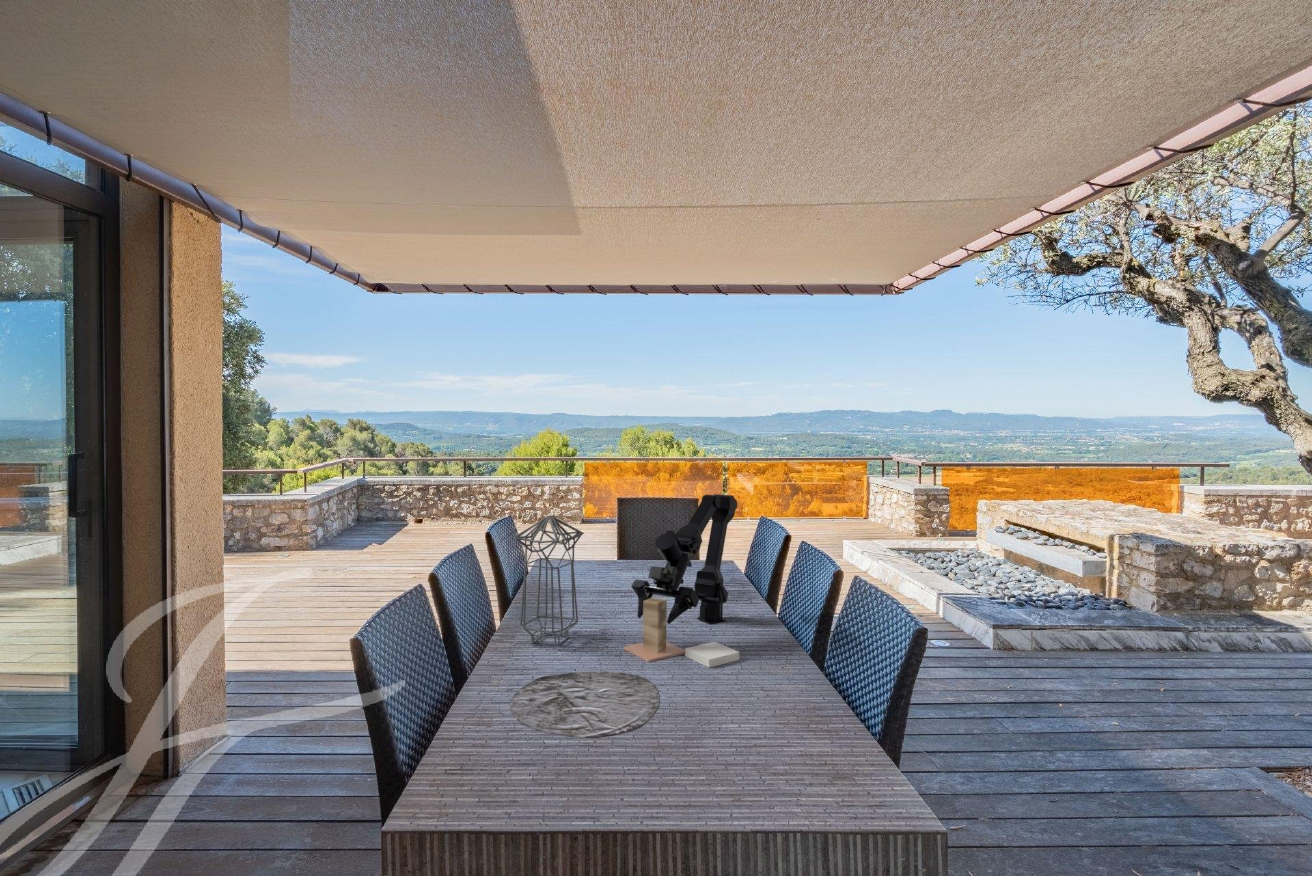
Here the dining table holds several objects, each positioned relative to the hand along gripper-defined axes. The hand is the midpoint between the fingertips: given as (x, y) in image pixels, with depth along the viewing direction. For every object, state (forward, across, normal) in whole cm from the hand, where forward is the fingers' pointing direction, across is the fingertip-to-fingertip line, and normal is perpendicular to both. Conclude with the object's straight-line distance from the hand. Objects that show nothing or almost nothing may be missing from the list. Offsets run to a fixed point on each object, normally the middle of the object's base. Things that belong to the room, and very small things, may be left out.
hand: (653, 620), depth 181 cm
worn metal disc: (+31, +5, -18) cm, 36 cm away
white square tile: (+3, +15, +9) cm, 18 cm away
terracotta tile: (+5, 0, +6) cm, 8 cm away
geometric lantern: (+11, -29, +1) cm, 32 cm away
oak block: (+5, 0, +6) cm, 8 cm away
